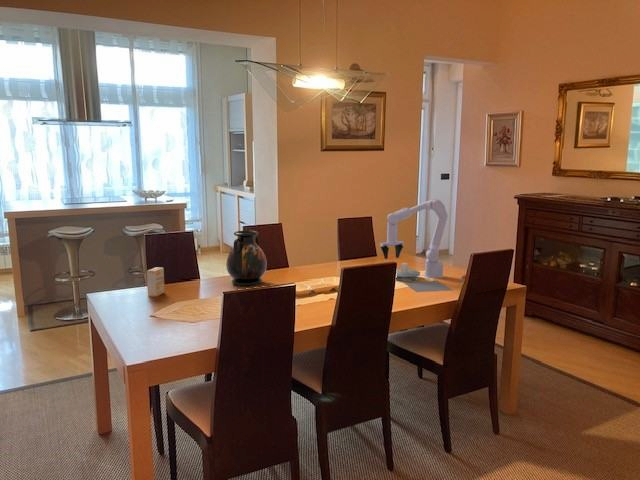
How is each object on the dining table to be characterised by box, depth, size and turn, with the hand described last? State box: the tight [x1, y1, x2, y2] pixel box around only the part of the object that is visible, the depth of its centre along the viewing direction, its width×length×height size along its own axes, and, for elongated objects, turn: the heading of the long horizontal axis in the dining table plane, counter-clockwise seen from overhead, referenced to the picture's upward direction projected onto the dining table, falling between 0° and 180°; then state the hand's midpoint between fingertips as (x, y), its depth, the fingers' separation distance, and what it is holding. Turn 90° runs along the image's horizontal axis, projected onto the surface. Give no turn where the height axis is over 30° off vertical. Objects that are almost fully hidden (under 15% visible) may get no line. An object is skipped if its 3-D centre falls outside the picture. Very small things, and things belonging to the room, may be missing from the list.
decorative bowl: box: [396, 276, 418, 282], centre depth 286 cm, size 15×4×15 cm
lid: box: [396, 262, 421, 278], centre depth 286 cm, size 17×17×6 cm
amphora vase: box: [225, 230, 268, 287], centre depth 273 cm, size 22×22×28 cm
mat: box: [402, 280, 454, 293], centre depth 269 cm, size 20×20×1 cm
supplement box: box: [146, 266, 165, 298], centre depth 252 cm, size 8×5×13 cm, turn 168°
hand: (391, 258), depth 292 cm, fingers open, 7 cm apart
